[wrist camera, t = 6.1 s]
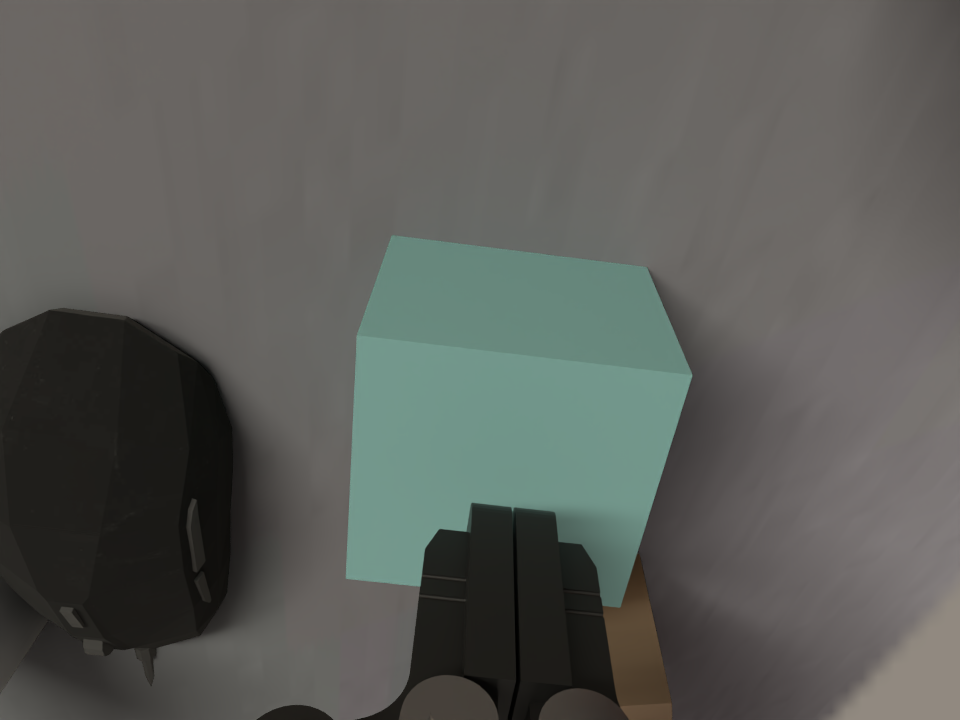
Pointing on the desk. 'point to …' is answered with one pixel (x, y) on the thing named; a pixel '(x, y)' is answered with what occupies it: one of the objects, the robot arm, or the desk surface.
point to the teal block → (509, 403)
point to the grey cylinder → (15, 630)
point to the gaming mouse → (112, 482)
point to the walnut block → (637, 653)
